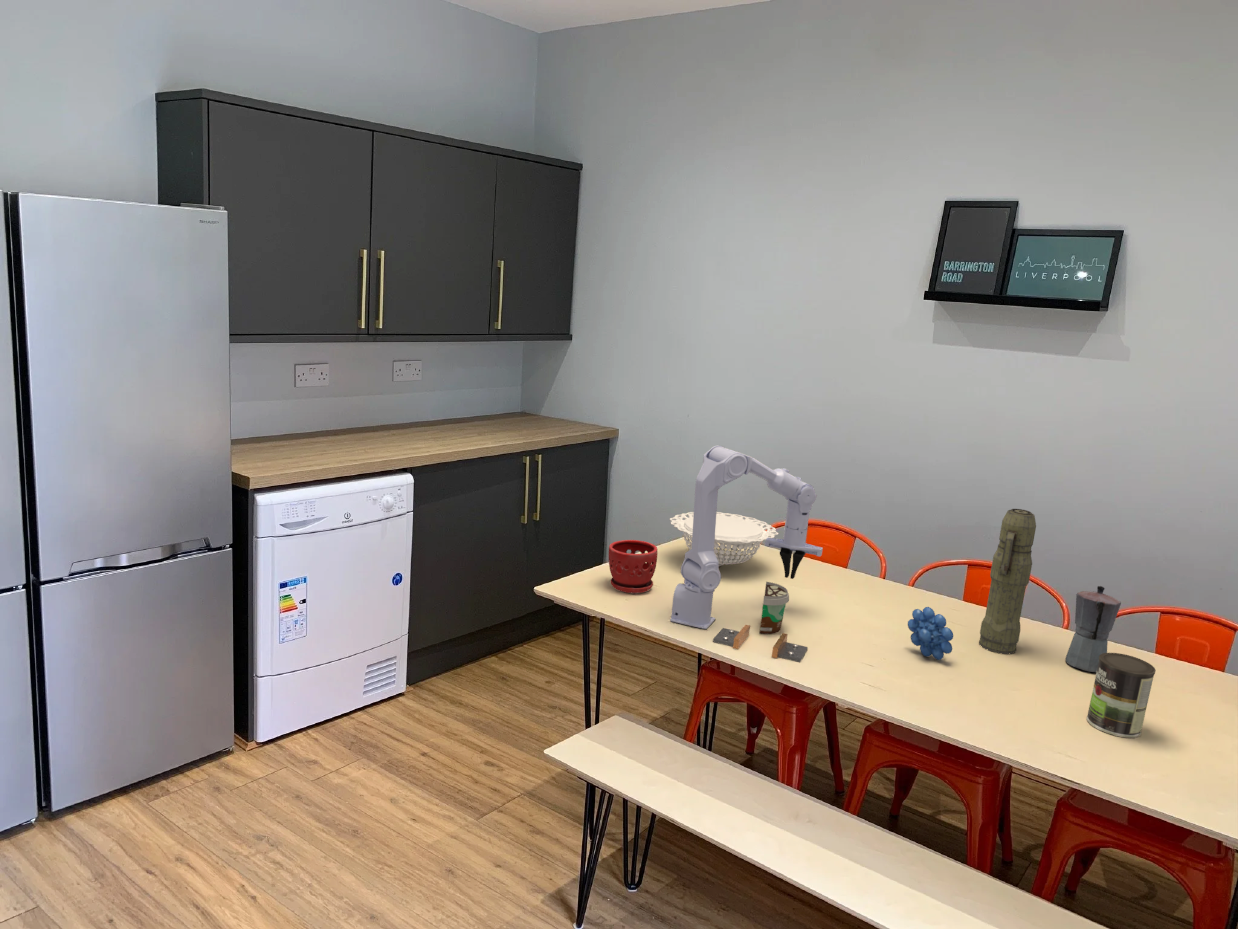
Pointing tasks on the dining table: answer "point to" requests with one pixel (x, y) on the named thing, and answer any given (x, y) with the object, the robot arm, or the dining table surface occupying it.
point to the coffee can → (1120, 694)
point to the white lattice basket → (729, 535)
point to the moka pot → (1091, 628)
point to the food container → (773, 608)
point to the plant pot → (632, 565)
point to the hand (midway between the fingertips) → (789, 577)
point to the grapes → (930, 633)
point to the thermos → (1008, 582)
